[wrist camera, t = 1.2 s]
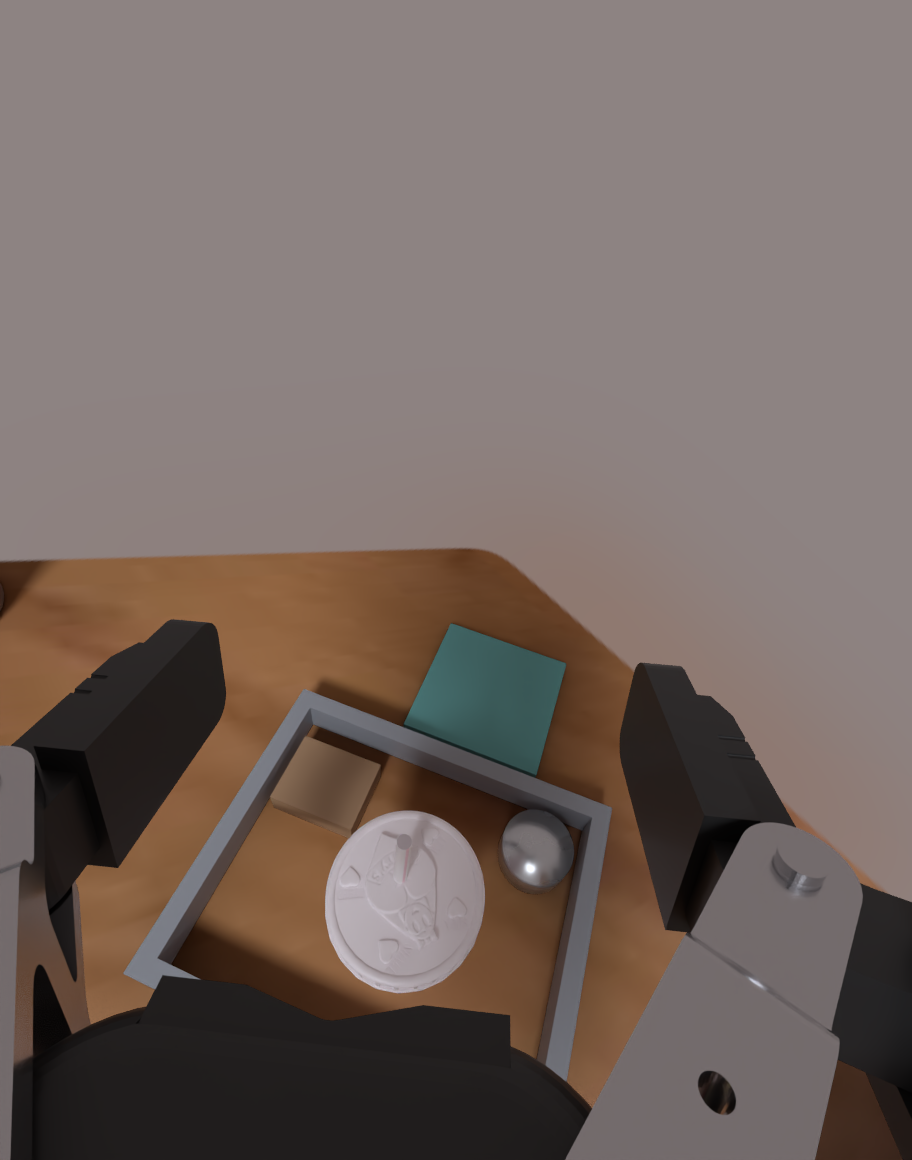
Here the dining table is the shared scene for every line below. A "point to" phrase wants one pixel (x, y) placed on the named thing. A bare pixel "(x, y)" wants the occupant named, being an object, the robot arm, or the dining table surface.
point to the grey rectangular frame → (431, 756)
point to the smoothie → (404, 901)
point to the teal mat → (488, 699)
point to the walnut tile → (327, 786)
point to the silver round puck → (535, 851)
